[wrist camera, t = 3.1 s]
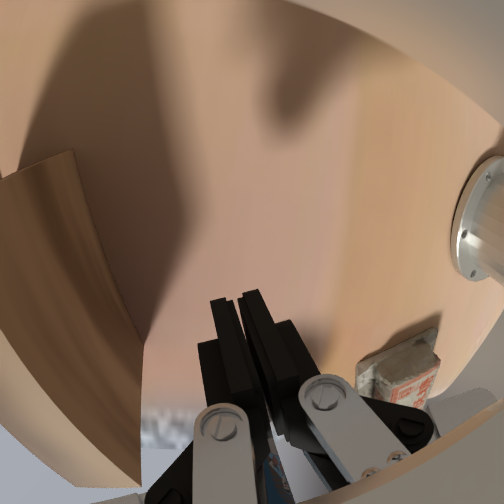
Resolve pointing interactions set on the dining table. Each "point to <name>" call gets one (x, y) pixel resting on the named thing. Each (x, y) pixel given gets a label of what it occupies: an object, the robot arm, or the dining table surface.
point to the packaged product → (401, 372)
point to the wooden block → (65, 333)
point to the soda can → (276, 478)
